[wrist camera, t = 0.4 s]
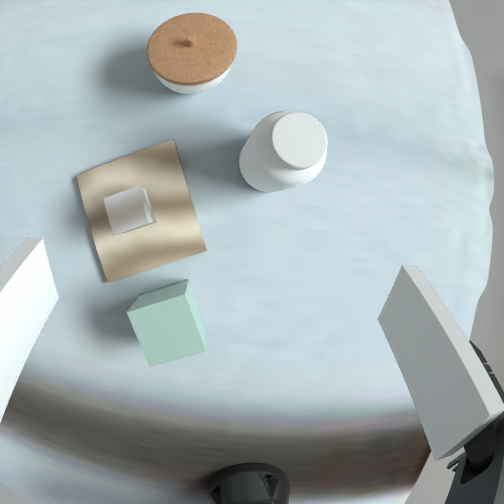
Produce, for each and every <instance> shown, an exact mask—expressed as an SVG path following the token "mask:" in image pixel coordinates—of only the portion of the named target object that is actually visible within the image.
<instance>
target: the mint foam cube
mask: <svg viewBox="0 0 504 504" xmlns="http://www.w3.org/2000/svg"><path fill="white" fill-rule="evenodd" d="M127 314H128V317H129V319H130V322H131V324H132V327H133V329H134V331H135V334H136V336H137V338H138V341H139V343H140V345H141V348H142V350H143V352H144V354H145V357H146V359H147V361H148V363H149V365H150V367H151V366H155V365H158V364H162V363H166V362H169V361H173V360H177V359H180V358H184V357H187V356H191V355H194V354H197V353H201V352H204V351H206V327H205V324H204V321H203V319H202V316H201V313H200V310H199V308H198V305H197V302H196V299H195V296H194V294H193V291H192V288H191V285H190V282H189V280H186V281H182V282H179V283H176V284H173V285H170V286H167V287H164V288H160V289H157V290H154V291H151V292H148V293H145V294H142V295H140V296H139V297H138V298H137V300H136V301H135V302H134V304H133V305H132V306H131V307H130V309H129V310H128V311H127Z"/></svg>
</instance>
